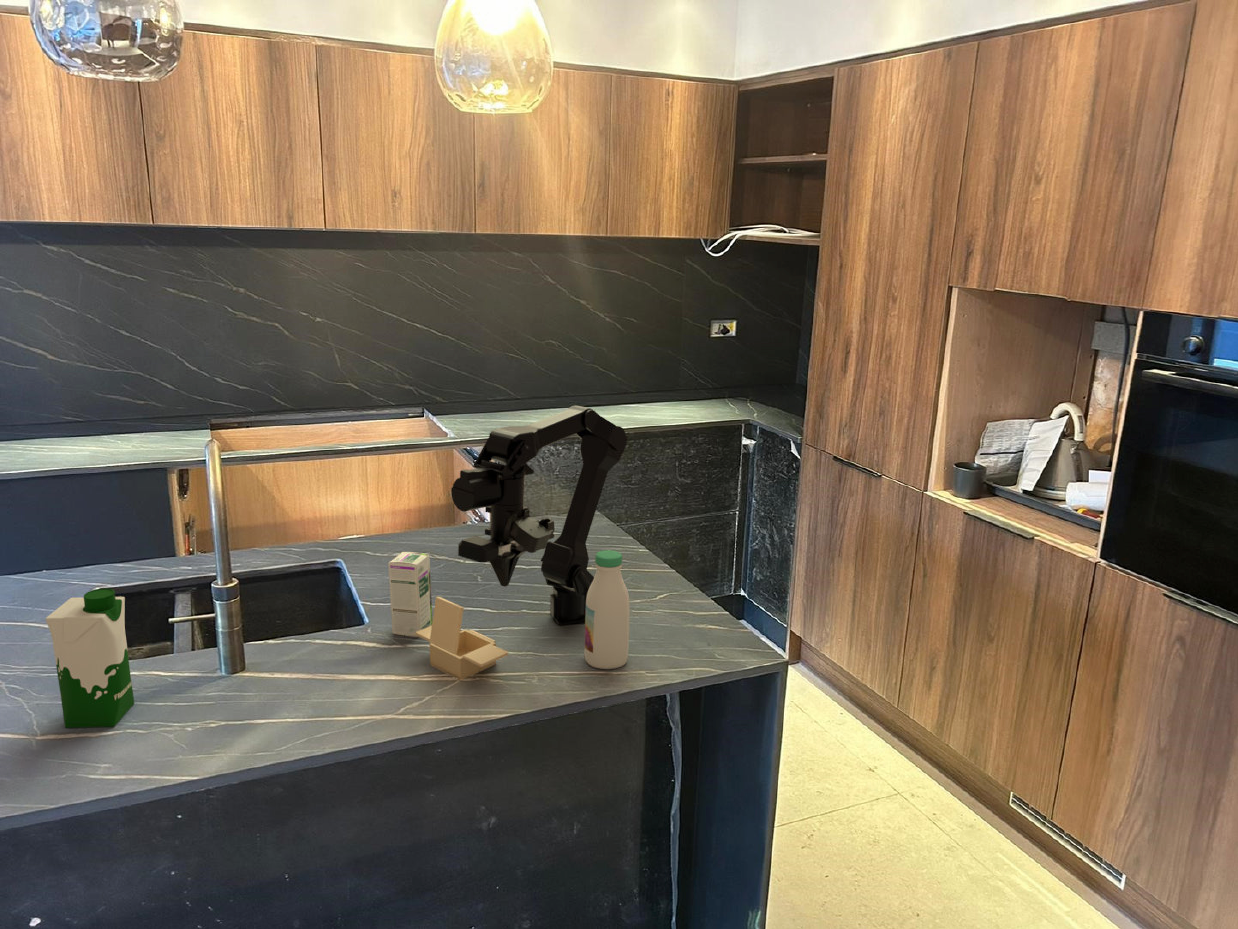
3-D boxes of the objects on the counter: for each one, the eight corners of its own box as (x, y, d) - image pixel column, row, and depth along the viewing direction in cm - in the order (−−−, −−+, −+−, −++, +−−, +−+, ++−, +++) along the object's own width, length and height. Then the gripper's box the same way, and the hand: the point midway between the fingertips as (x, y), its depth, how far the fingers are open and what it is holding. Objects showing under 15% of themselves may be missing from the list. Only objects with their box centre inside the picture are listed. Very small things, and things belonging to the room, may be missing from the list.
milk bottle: (633, 654, 162) (637, 549, 157) (619, 674, 155) (622, 564, 150) (593, 647, 165) (595, 543, 160) (577, 666, 158) (579, 558, 153)
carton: (451, 640, 166) (451, 618, 165) (517, 671, 155) (517, 648, 154) (413, 656, 160) (412, 633, 158) (478, 690, 149) (478, 665, 148)
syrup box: (420, 638, 167) (418, 564, 163) (390, 634, 168) (387, 561, 164) (433, 625, 172) (431, 553, 168) (404, 621, 173) (401, 550, 169)
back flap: (432, 642, 155) (439, 596, 154) (456, 653, 151) (463, 607, 150) (429, 642, 154) (436, 597, 154) (453, 654, 150) (460, 607, 150)
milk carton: (118, 730, 134) (101, 605, 129) (54, 731, 134) (35, 606, 128) (143, 700, 143) (128, 582, 138) (83, 701, 142) (66, 582, 137)
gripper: (507, 521, 146) (504, 612, 149) (576, 500, 161) (572, 583, 165) (456, 508, 152) (455, 595, 155) (527, 488, 167) (524, 568, 171)
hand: (504, 585), depth 161 cm, fingers closed
